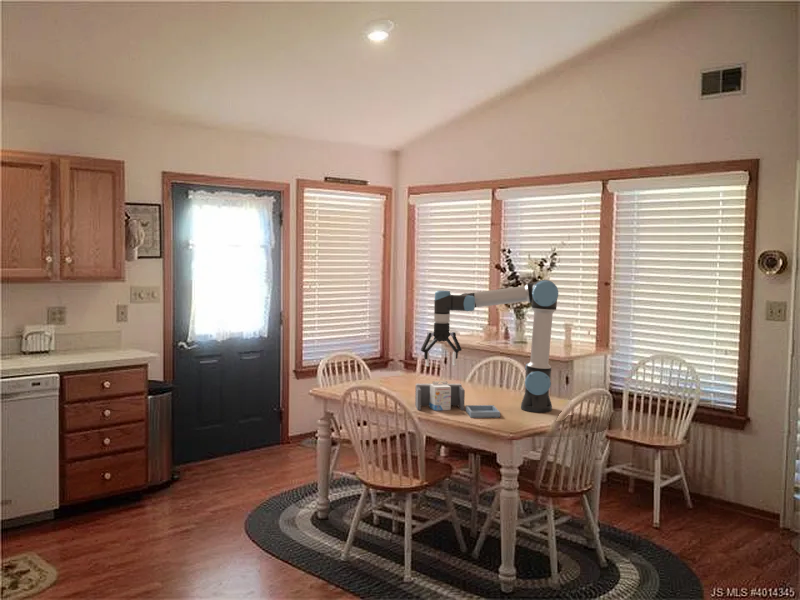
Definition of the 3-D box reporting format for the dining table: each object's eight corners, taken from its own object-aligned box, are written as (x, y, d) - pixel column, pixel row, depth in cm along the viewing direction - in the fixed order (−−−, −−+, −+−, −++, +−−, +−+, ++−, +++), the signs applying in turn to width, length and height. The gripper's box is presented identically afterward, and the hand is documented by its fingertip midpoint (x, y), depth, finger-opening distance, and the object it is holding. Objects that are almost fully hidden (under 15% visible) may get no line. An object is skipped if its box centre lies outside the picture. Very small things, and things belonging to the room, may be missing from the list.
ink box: (434, 410, 347) (434, 383, 346) (429, 407, 355) (429, 380, 354) (451, 410, 350) (451, 383, 349) (445, 406, 358) (445, 380, 357)
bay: (460, 404, 362) (460, 383, 361) (464, 410, 349) (464, 388, 348) (415, 404, 360) (415, 383, 360) (417, 410, 348) (417, 388, 347)
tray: (493, 410, 350) (493, 405, 350) (500, 417, 335) (500, 412, 335) (465, 410, 349) (465, 405, 349) (470, 417, 334) (470, 412, 334)
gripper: (463, 321, 353) (462, 363, 354) (415, 321, 346) (414, 365, 348) (468, 322, 345) (467, 366, 347) (419, 323, 339) (418, 367, 340)
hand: (440, 365), depth 347 cm, fingers open, 13 cm apart
